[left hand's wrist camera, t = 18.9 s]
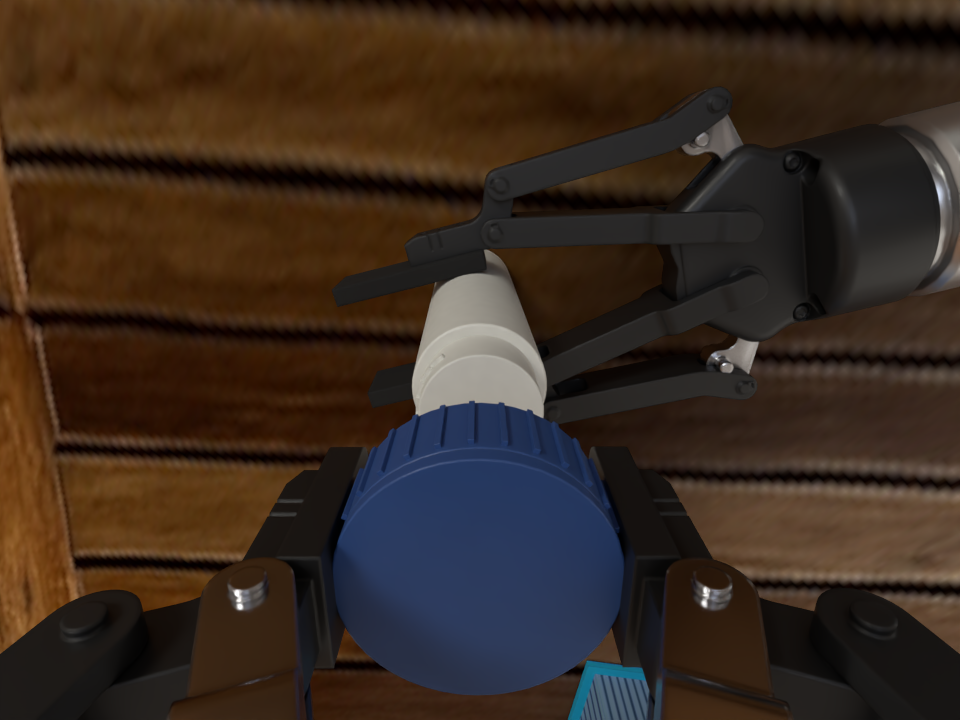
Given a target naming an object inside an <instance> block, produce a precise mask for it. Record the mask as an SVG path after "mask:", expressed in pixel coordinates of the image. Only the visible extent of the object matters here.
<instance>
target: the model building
mask: <svg viewBox="0 0 960 720" xmlns="http://www.w3.org/2000/svg"><path fill="white" fill-rule="evenodd" d="M648 694H649V688H648V686H647V682H646V679H645V676H644V673H643V669H642V668H640V667H622V665H617V664H610V663H603V662H595V661H588V660H587V662H586V665H585V668H584V671H583V674H582V677H581V680H580V684H579V687H578V690H577V693H576V696H575V699H574V702H573V705H572V708H571V711H570V714H569V717H568V720H646V713H647V701H648Z"/></svg>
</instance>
